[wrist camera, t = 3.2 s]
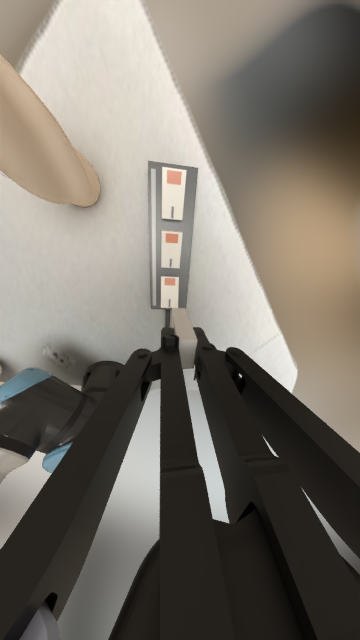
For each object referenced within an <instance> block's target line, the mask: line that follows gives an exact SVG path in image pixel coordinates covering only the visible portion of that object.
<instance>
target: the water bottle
mask: <svg viewBox="0 0 360 640" xmlns="http://www.w3.org/2000/svg"><path fill="white" fill-rule="evenodd" d="M0 170H1V171H2V172H3V173H4V174H5V175H6V176H8V177H9V178H10V179H11V180H13V181H14V182H15V183H17V184H18V185H19V186H21V187H22V188H24V189H25V190H27V191H28V192H30V193H32V194H33V195H35V196H37V197H39V198H41V199H44V200H46V201H49V202H52V203H57V204H68V203H69V204H76V205H78V206H81V207H88V206H91V205H93V204H94V203H95V202H96V201H97V199H98V197H99V194H100V183H99V179H98V177H97V174H96V172H95V171H94V169H93V168H92V166H91V165H90V164H89V163H88V162H87V161H86V160H85V159H84V157H83V156H82V155H81V154H80V153H79V152H78V151H77V150H76V149H75V148H74V147H73V146H72V145H71V143H70V141H69V139H68V138H67V136H66V134H65V133H64V131H63V130H62V128H61V126H60V125H59V123H58V121H57V120H56V119H55V117H54V116H53V115H52V113H51V112H50V111H49V110H48V108H47V107H46V106H45V105H44V103H43V102H42V101H41V100H40V98H39V97H38V96H37V95H36V94H35V92H34V91H33V90H32V89H31V88H30V86H29V85H28V84H27V83H26V82H25V81H24V80H23V79H22V78H21V76H20V75H19V74H18V73H17V72H16V70H15V69H14V68H13V67H12V66H11V65H10V64H9V63H8V62H7V61H6V60H5V59H4V58H3V57H2V56H1V55H0ZM1 175H2V174H1ZM3 176H4V175H3ZM6 176H5V177H6ZM8 177H7V178H8Z"/></svg>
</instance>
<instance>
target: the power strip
mask: <svg viewBox="0 0 360 640" xmlns="http://www.w3.org/2000/svg"><path fill="white" fill-rule="evenodd" d="M162 167H168V168H175V169H182V170H187V172H186V183H185V195H184V207H183V218H182V220H174V219H164V218H162ZM197 173H198V168H195V167H188V166H181V165H174V164H167V163H160V162H153V161H148V181H149V234H150V286H151V309H166V323H165V328H169V326H170V309H172V308H161V276H165V277H179V290H178V308H185V309H186V300H187V289H188V277H189V265H190V254H191V242H192V231H193V219H194V208H195V196H196V185H197ZM162 229H164V230H175V231H182V232H183V235H182V246H181V257H180V268H162V267H161V240H162Z"/></svg>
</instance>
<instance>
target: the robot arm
mask: <svg viewBox="0 0 360 640" xmlns="http://www.w3.org/2000/svg"><path fill="white" fill-rule="evenodd" d="M194 364H195V374H194V380H195V379H197V383H198V387H199V391H200V394H201V398H202V402H203V406H204V410H205V414H206V418H207V422H208V425H209V429H210V433H211V437H212V441H213V445H214V448H215V453H216V456H217V460H218V464H219V468H220V472H221V476H222V480H223V483H224V488H225V501H226V508H227V514H228V518H229V523H230V524H229V523H225V522H222V521H218V520H214V519H212V514H211V508H210V503H209V497H208V492H207V487H206V482H205V477H204V473H203V470H202V467H201V466H200V464H199V461H198V457H197V452H196V446H195V439H194V433H193V428H192V422H191V416H190V410H189V405H188V399H187V393H186V387H185V381H184V375H183V369H190V368H194ZM239 373H240V374H241V375H242V378H241V377H240V376H239ZM158 379H161V405H160V412H161V413H160V539H159V540H158V541H157V542H156V543H155V544H154V546H153V547H152V548H151V549H150V551H149V552H148V554H147V555H146V557H145V558H144V560H143V562H142V564H141V566H140V568H139V569H138V572H137V574H136V576H135V578H134V580H133V583H132V585H131V587H130V590H129V592H128V595H127V597H126V599H125V601H124V604H123V606H122V609H121V611H120V613H119V616H118V618H117V620H116V623H115V625H114V627H113V630H112V632H111V634H110V637H109V639H108V640H360V574H358V572H357V571H356V570H355V569H354V568H353V567H352V566H351V565H350V564H349V563H348V562H347V561H346V560H345V559H344V558H343V557H342V556H341V555H340V554H339V552H338V551H337V549H336V547H335V546H334V544H333V542H332V540H331V539H330V537H329V535H328V534H327V532H326V530H325V528H324V527H323V525H322V523H321V521H320V520H319V518H318V516H317V514H316V513H315V511H314V509H313V508H312V506H311V504H310V502H309V501H308V499H307V497H306V495H305V494H304V492H305V493H306V494H307V496H308V497H309V498H310V500H311V501H312V502H313V504H314V505H315V506H316V508H317V509H318V510H319V512H320V513H321V514H322V515H323V517H324V518H325V519H326V521H327V522H328V523H329V524H330V526H331V527H332V528H333V529H334V530H335V532H336V533H337V534H338V535H339V536H340V537H341V539H342V540H343V541H344V542H345V543H346V544H347V545H348V547H349V548H351V550H352V551H353V552H354V553H355V554H356V555H357V556H358V557H359V559H360V453H359V452H358V451H357V450H356V449H354V448H353V447H352V446H351V445H350V444H348V442H347V441H345V440H344V439H343V438H342V437H341V436H339V435H338V434H337V433H336V432H335V431H334V430H333V429H332V428H330V427H329V426H328V425H327V424H326V423H325V422H323V421H322V420H321V419H320V418H319V417H318V416H317V415H315V414H314V413H313V412H312V411H311V410H310V409H309V408H307V407H306V406H305V405H304V404H303V403H302V402H300V401H299V400H298V399H297V398H296V397H295V396H294V395H292V394H291V393H290V392H289V391H288V390H287V389H286V388H284V387H283V386H282V385H281V384H280V383H279V382H277V381H276V380H275V379H274V378H273V377H272V376H271V375H269V374H268V373H267V372H266V371H265V370H264V369H262V368H261V367H260V366H259V365H258V364H257V363H256V362H254V361H253V360H252V359H251V358H250V357H249V356H248V355H246V354H245V353H244V352H243V351H242V350H240V349H238V348H234V347H230V348H227V350H226V352H224V351H219V350H217V349H216V347H215V346H214V345H212V344H210V343H209V341H208V339H207V337H206V335H205V334H204V331H203V330H202V329H201V328H199V327H192V324H191V322H190V319H189V317H188V314H187V311H186V309H185V308H172V319H171V328H163V329H162V330H161V348H160V349H159V350H157V351H155V352H151V351H149V350H148V349H138V350H136V351H134V352H133V353H132V355H131V356H130V358H129V359H128V361H127V362H126V364H125V365H122V364H119V363H117V362H112V361H103V362H98V363H95V364H93V365H92V366H91V367H89V369H88V370H87V372H86V373H85V375H84V377H83V381H82V388H81V391H79V390H77V389H75V388H73V387H72V386H70V385H68V384H67V383H65V382H63V381H61V380H60V379H58V378H56V377H55V376H53V374H49V373H47V372H45V371H43V370H41V369H39V368H36V367H31V368H27V369H25V370H23V371H21V372H20V373H18V374H17V375H15V376H14V377H12V378H11V379H9V380H8V381H6V382H5V383H4V384H2V385H1V386H0V483H1V482H2V481H3V479H4V478H5V477H6V475H7V474H8V473H9V472H11V471H12V470H14V469H16V468H18V467H20V466H22V465H23V464H25V463H27V462H28V461H29V459H30V458H31V457H32V455H33V454H34V452H35V451H36V450H37V451H40V452H42V453H45V454H46V456H45V457H44V458H43V463H42V467H43V468H44V469H45V470H46V471H47V472H50V473H52V474H51V476H50V477H49V479H48V480H47V482H46V483H45V485H44V486H43V488H42V489H41V491H40V492H39V494H38V495H37V497H36V498H35V499H34V501H33V502H32V504H31V505H30V507H29V508H28V510H27V511H26V513H25V515H24V516H23V517H22V519H21V520H20V522H19V523H18V525H17V526H16V528H15V529H14V531H13V532H12V534H11V535H10V537H9V538H8V540H7V541H6V543H5V544H4V546H3V547H2V548H1V549H0V640H60V631H59V627H58V624H57V620H58V618H59V616H60V615H61V613H62V610H63V609H64V606H65V604H66V602H67V600H68V598H69V596H70V594H71V592H72V589H73V587H74V585H75V583H76V581H77V579H78V577H79V574H80V572H81V570H82V567H83V565H84V562H85V559H86V557H87V555H88V552H89V550H90V547H91V545H92V542H93V539H94V536H95V534H96V531H97V528H98V526H99V523H100V521H101V518H102V515H103V513H104V510H105V507H106V505H107V502H108V499H109V497H110V494H111V491H112V489H113V486H114V483H115V481H116V478H117V475H118V473H119V470H120V467H121V464H122V462H123V459H124V456H125V454H126V451H127V448H128V445H129V443H130V440H131V438H132V435H133V432H134V430H135V427H136V424H137V422H138V419H139V416H140V414H141V411H142V408H143V406H144V403H145V400H146V398H147V395H148V392H149V390H150V387H151V384H152V381H155V380H158ZM262 435H263V436H262ZM263 437H264V438H265V439H266V441H267V442H268V443H269V445H270V446H271V448H272V449H273V450H274V452H275V453H276V454H277V456H278V457H276V456H274V455H273V454H272V452H271V451H270V449H269V447H268V445H267V444H266V442H265V440H264V438H263ZM300 486H301V487H300ZM302 489H303V490H304V492H303V490H302Z"/></svg>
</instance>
